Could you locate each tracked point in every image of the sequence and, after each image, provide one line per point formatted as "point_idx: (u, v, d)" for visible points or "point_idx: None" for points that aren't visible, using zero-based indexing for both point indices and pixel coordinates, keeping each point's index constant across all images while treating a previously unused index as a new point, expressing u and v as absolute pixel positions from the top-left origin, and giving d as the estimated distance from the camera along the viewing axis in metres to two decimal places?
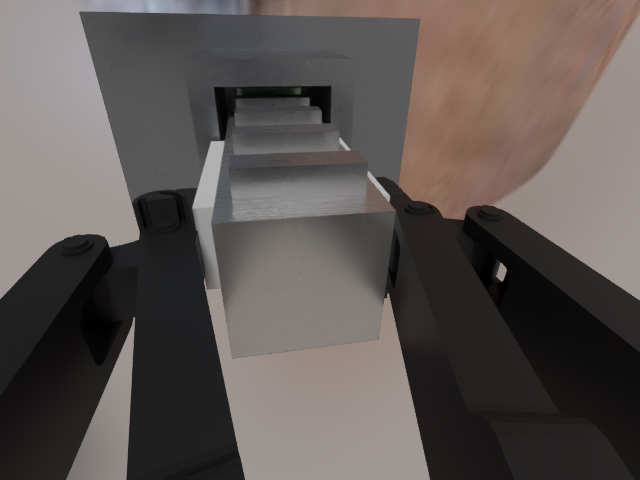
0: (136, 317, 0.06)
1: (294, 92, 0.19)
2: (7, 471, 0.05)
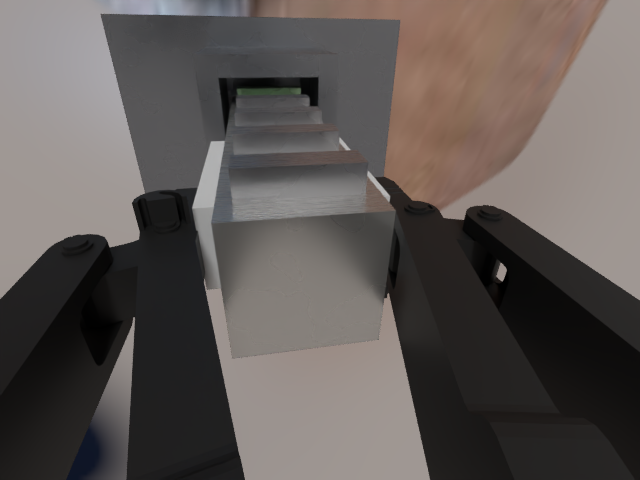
0: (136, 317, 0.06)
1: (294, 92, 0.19)
2: (7, 471, 0.05)
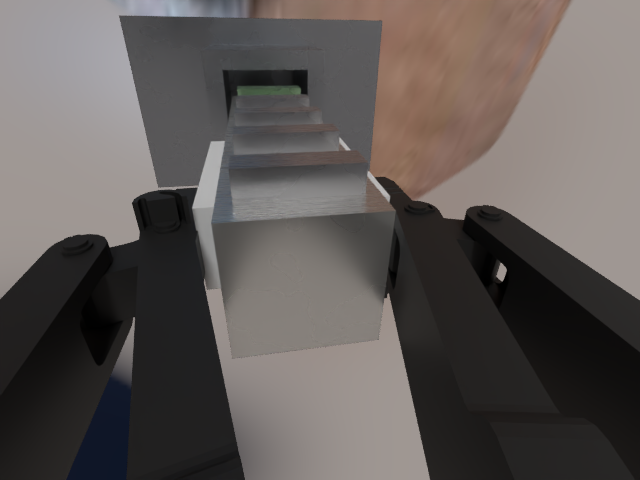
0: (136, 317, 0.06)
1: (294, 92, 0.19)
2: (7, 471, 0.05)
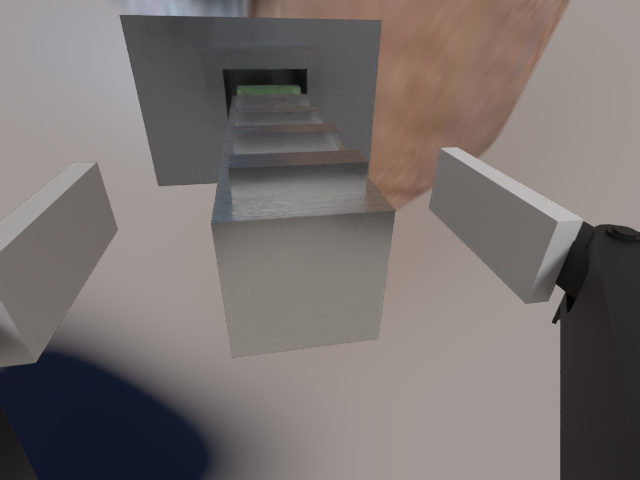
0: None
1: (294, 92, 0.19)
2: None
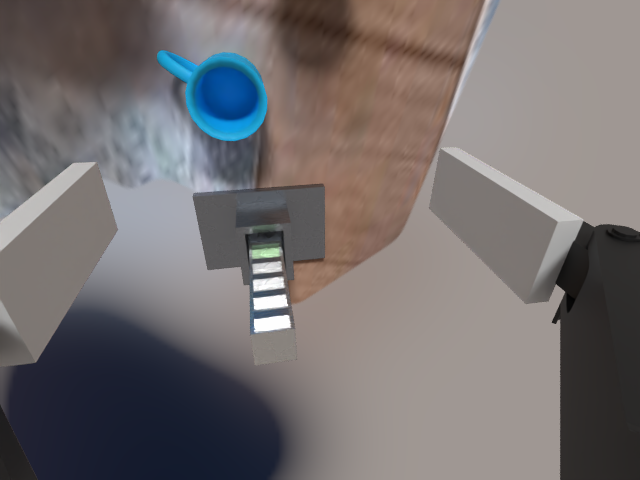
0: None
1: (276, 249, 0.43)
2: None
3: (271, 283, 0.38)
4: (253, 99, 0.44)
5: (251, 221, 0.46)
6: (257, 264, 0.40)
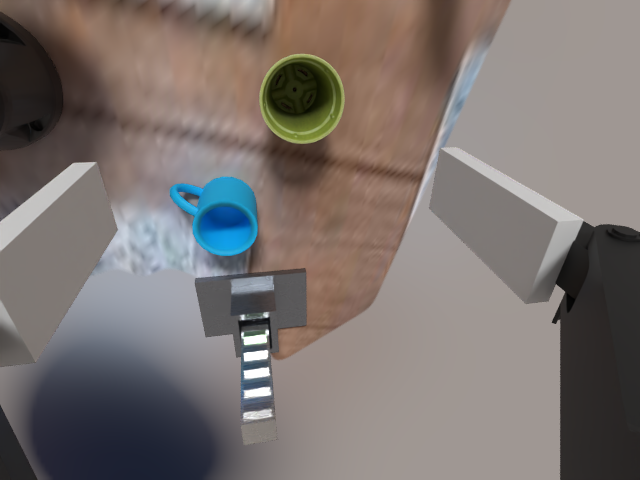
0: None
1: (263, 335, 0.53)
2: None
3: (258, 372, 0.48)
4: None
5: (243, 308, 0.55)
6: (247, 353, 0.50)
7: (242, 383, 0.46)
